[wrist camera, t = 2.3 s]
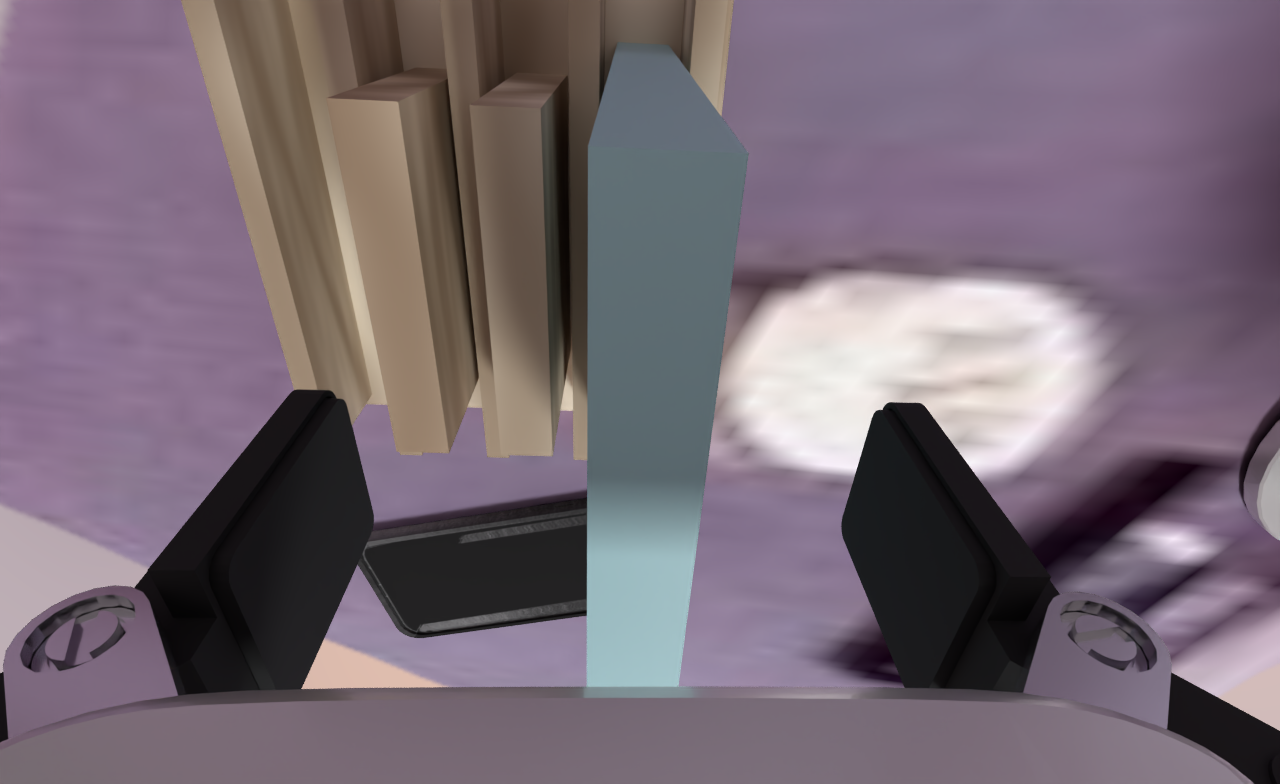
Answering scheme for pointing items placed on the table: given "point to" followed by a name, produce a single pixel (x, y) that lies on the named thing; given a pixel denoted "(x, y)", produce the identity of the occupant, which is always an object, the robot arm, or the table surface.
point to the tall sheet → (652, 353)
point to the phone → (482, 570)
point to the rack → (476, 63)
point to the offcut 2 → (525, 252)
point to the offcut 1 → (410, 249)
